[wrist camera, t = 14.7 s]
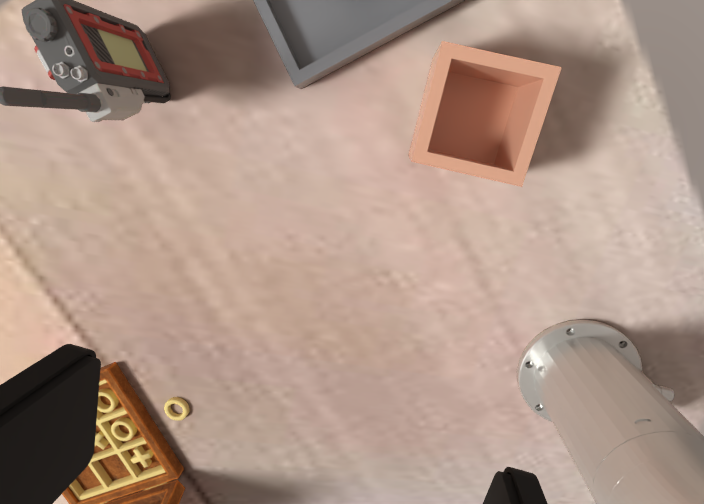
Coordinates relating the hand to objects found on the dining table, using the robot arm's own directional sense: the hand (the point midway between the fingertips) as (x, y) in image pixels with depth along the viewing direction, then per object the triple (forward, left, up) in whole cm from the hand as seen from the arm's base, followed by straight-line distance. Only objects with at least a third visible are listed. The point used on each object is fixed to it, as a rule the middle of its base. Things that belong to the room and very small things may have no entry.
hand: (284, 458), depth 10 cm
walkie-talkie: (+24, -7, -36) cm, 44 cm away
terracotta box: (-7, -10, -36) cm, 38 cm away
